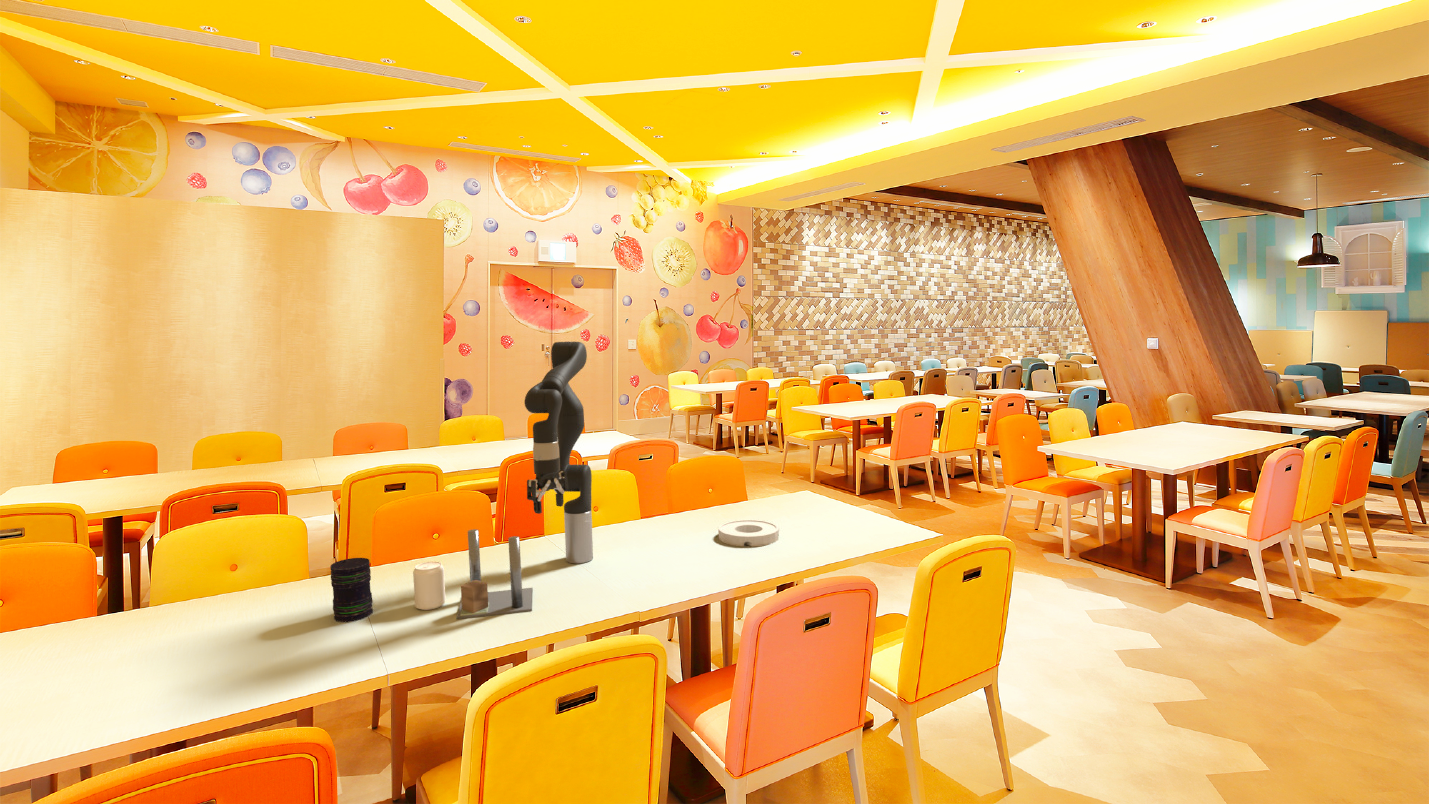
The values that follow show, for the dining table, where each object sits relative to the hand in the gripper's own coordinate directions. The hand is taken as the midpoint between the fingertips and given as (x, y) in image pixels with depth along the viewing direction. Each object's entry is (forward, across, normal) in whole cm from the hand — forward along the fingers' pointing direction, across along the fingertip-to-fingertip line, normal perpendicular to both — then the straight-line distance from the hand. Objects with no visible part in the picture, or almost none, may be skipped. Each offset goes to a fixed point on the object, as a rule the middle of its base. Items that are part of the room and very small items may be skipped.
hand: (549, 509), depth 202 cm
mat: (+25, +15, -7) cm, 30 cm away
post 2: (+24, +15, +1) cm, 29 cm away
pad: (+24, +22, -8) cm, 34 cm away
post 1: (+25, +16, -15) cm, 33 cm away
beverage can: (+25, +26, -23) cm, 43 cm away
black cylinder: (+25, +42, -35) cm, 60 cm away
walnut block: (+24, +22, -8) cm, 34 cm away
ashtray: (+28, -78, +24) cm, 86 cm away
